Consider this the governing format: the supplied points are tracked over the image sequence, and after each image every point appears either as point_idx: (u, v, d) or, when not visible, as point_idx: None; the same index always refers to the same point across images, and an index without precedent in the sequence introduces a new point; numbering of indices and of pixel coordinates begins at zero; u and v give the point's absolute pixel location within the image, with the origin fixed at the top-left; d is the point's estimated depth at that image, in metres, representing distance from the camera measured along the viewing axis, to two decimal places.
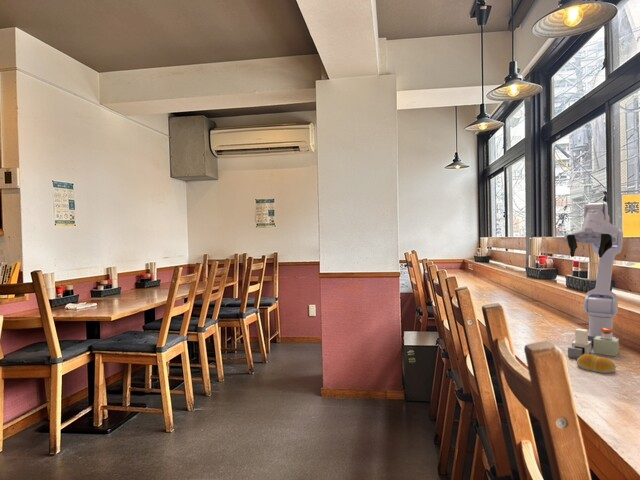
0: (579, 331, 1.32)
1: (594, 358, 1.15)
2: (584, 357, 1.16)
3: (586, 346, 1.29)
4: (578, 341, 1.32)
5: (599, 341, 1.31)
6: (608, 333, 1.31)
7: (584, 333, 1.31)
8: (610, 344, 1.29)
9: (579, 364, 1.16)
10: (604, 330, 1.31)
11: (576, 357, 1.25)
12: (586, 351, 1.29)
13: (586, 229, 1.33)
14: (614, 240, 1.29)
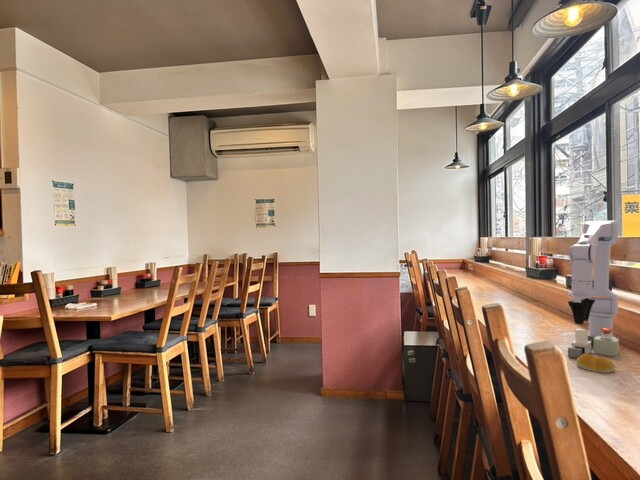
0: (579, 331, 1.32)
1: (594, 358, 1.15)
2: (583, 357, 1.16)
3: (586, 346, 1.29)
4: (578, 341, 1.32)
5: (599, 341, 1.31)
6: (608, 333, 1.31)
7: (584, 333, 1.31)
8: (610, 344, 1.29)
9: (579, 364, 1.16)
10: (604, 330, 1.31)
11: (576, 357, 1.25)
12: (586, 351, 1.29)
13: None
14: None
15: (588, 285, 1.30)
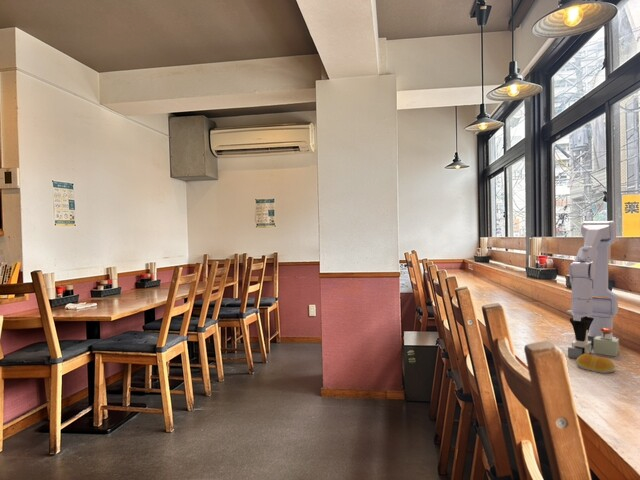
0: None
1: (593, 358, 1.15)
2: (583, 357, 1.16)
3: (586, 346, 1.29)
4: (578, 341, 1.32)
5: (599, 341, 1.31)
6: (608, 333, 1.31)
7: None
8: (610, 344, 1.29)
9: (578, 364, 1.16)
10: (604, 330, 1.31)
11: (576, 357, 1.25)
12: (586, 351, 1.29)
13: None
14: None
15: (588, 303, 1.30)
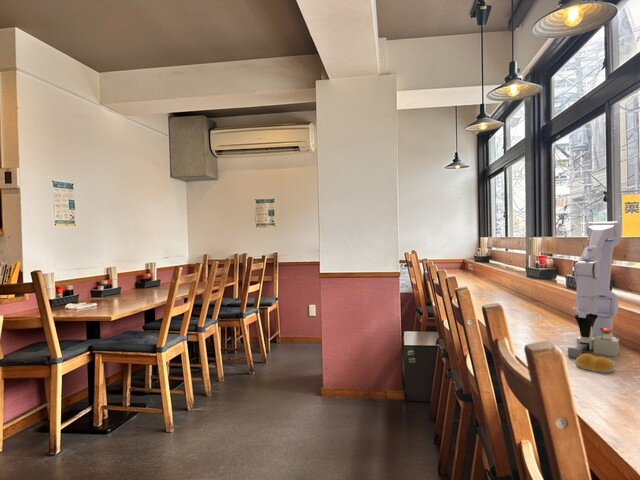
0: None
1: (593, 358, 1.15)
2: (582, 357, 1.16)
3: (591, 342, 1.34)
4: (583, 337, 1.37)
5: (599, 341, 1.31)
6: (608, 333, 1.31)
7: None
8: (610, 344, 1.29)
9: (578, 364, 1.16)
10: (604, 330, 1.31)
11: (576, 357, 1.25)
12: (591, 347, 1.34)
13: None
14: None
15: (592, 301, 1.35)
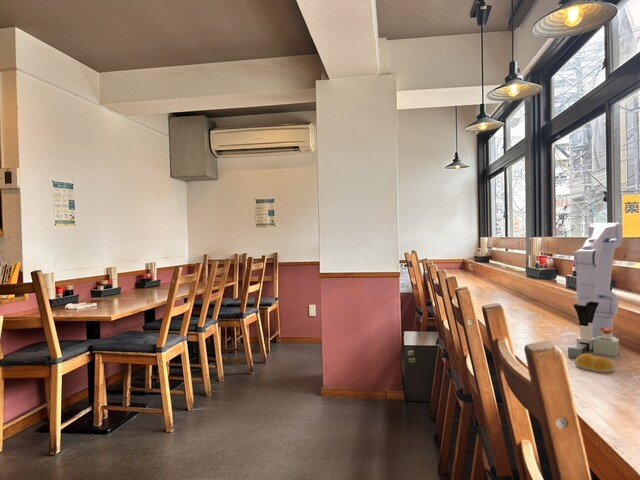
0: (584, 327, 1.37)
1: (592, 358, 1.15)
2: (582, 357, 1.16)
3: (591, 342, 1.34)
4: (583, 337, 1.37)
5: (599, 341, 1.31)
6: (608, 333, 1.31)
7: (589, 329, 1.36)
8: (610, 344, 1.29)
9: (578, 364, 1.16)
10: (604, 330, 1.31)
11: (576, 357, 1.25)
12: (591, 347, 1.34)
13: None
14: None
15: (592, 289, 1.35)
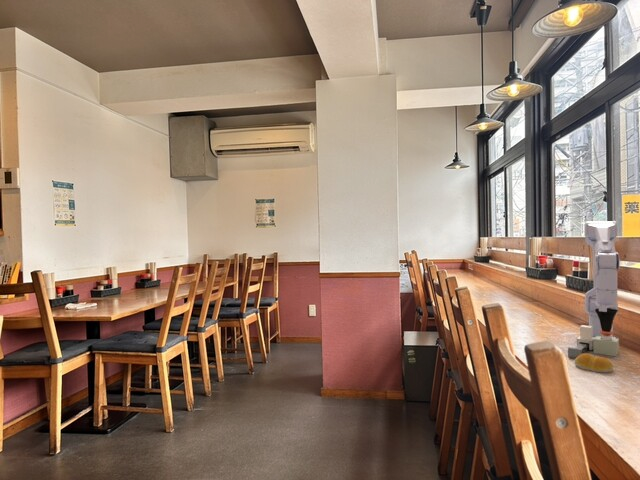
0: (584, 327, 1.37)
1: (592, 358, 1.15)
2: (582, 357, 1.16)
3: (591, 342, 1.34)
4: (583, 337, 1.37)
5: (599, 341, 1.31)
6: (608, 335, 1.31)
7: (589, 329, 1.36)
8: (610, 344, 1.29)
9: (577, 364, 1.16)
10: (604, 332, 1.31)
11: (576, 357, 1.25)
12: (591, 347, 1.34)
13: None
14: None
15: (613, 294, 1.29)
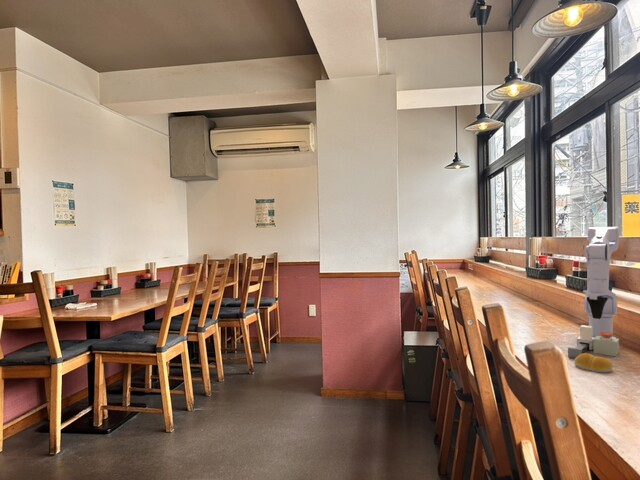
0: (584, 327, 1.37)
1: (592, 357, 1.15)
2: (581, 356, 1.16)
3: (591, 342, 1.34)
4: (583, 337, 1.37)
5: (599, 341, 1.31)
6: (608, 337, 1.31)
7: (589, 329, 1.36)
8: (610, 344, 1.29)
9: (577, 363, 1.16)
10: (604, 334, 1.31)
11: None
12: (591, 347, 1.34)
13: None
14: None
15: (603, 283, 1.36)
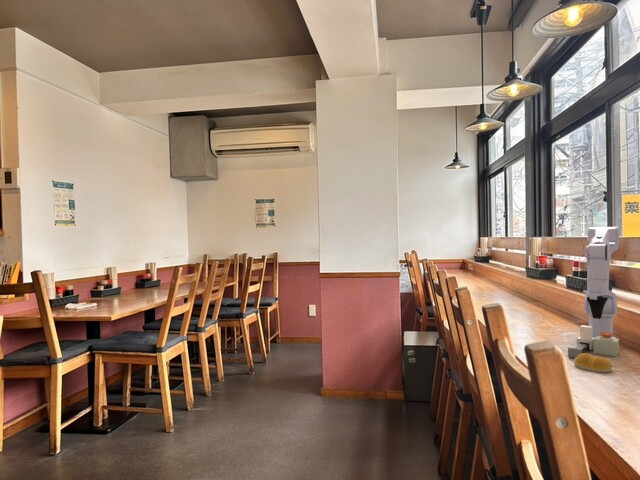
0: (584, 327, 1.37)
1: (591, 357, 1.15)
2: (581, 356, 1.16)
3: (591, 342, 1.34)
4: (583, 337, 1.37)
5: (599, 341, 1.31)
6: (608, 337, 1.31)
7: (589, 329, 1.36)
8: (610, 344, 1.29)
9: (576, 363, 1.16)
10: (604, 334, 1.31)
11: None
12: (591, 347, 1.34)
13: None
14: None
15: (603, 283, 1.36)
